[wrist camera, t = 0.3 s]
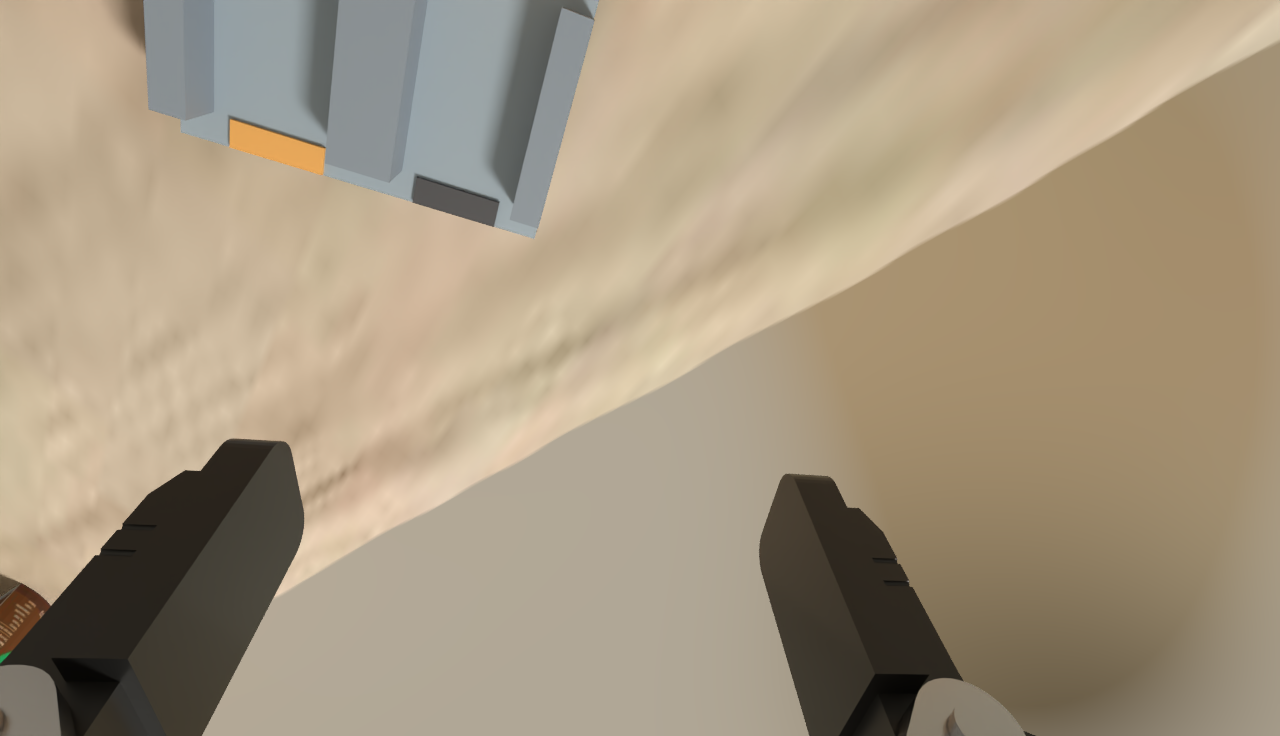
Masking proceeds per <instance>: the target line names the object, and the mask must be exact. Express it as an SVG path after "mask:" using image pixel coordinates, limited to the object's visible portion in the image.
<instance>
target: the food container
mask: <svg viewBox="0 0 1280 736" xmlns="http://www.w3.org/2000/svg"><path fill="white" fill-rule="evenodd" d="M50 607H51V606H50V605H49V603H48V602H47V601H46V600H45V599H44V598H43V597H41V596H40V595H39V594H38V593H36V592H35V591H33V590H32V589H30V588H29V587H27V586H25V585H23V584H22V583H20V584H19V585H17V586H16V587H14V588H13V589H12V590H10V591H9V592H7V593H6V594H4V595H3V596H1V597H0V663H1V662H2V661H3V660H4V659H5V658H6V657H7V656H8V655H9V654H10V653H11V652H12V650H13V649H14V648H15V647H16V646H17V645H18V644H19V642H20V641H21V640H22V639H23V638H24V637H25V635H26V634H27V633H28V632H29V631H30V630H31V629H32V627H33V626H34V625H35V624H36V623H37V622H38V621H39V619H40V618H41V617H42V616H43V615H44V614H45V612H46V611H47V610H48V609H49V608H50Z"/></svg>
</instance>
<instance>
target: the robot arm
mask: <svg viewBox="0 0 1280 736" xmlns="http://www.w3.org/2000/svg"><path fill="white" fill-rule="evenodd" d="M303 529H304V510H303V505H302V500H301V496H300V491H299V486H298V481H297V476H296V471H295V467H294V462H293V457H292V453H291V449H290V447H289V445H288V444H287V443H286V442H283V441H266V440H250V439H229V440H227V441H225V442H224V443H223V444H222V445H221V446H220V447H219V449H218V450H217V451H216V452H215V454H214V455H213V456H212V457H211V459H210V460H209V461H208V462H207V464H206V465H205V466H204V467H203V469H202V470H201V471H188V470H185V471H183V472H182V473H180V474H179V475H177V476H176V477H174V478H173V479H171V480H170V481H168V482H166V483H165V484H163V485H162V486H160V487H159V488H157V489H156V490H154V491H153V492H151V493H150V494H148V495H147V496H146V497H145V499H144V500H143V501H142V502H141V503H140V504H139V505H138V507H137V508H136V509H135V510H134V511H133V512H132V514H131V515H130V516H129V517H128V518H127V519H126V520H125V522H124V523H123V527H122V529H121V530H117V531H116V532H115V533H114V534H113V535H112V537H111V538H110V539H109V540H108V541H107V542H106V543H105V545H104V546H103V547H102V548H101V553H100V555H95V556H94V557H93V558H92V560H91V561H90V562H89V563H88V564H87V565H86V566H85V568H84V569H83V570H82V571H81V572H80V573H79V575H78V576H77V577H76V578H75V579H74V580H73V581H72V583H71V584H70V585H69V586H68V587H67V588H66V589H65V591H64V592H63V593H62V594H61V595H60V596H59V598H58V599H57V600H56V601H55V602H54V603H53V604H52V606H51V607H50V608H49V609H48V610H47V611H46V612H45V614H44V615H43V616H42V617H41V618H40V619H39V621H38V622H37V623H36V624H35V625H34V626H33V627H32V629H31V630H30V631H29V632H28V633H27V634H26V635H25V637H24V638H23V639H22V640H21V641H20V642H19V644H18V645H17V646H16V647H15V648H14V649H13V650H12V652H11V653H10V654H9V655H8V656H7V657H6V658H5V659H4V660H3V661H2V662H1V663H0V736H202V734H203V732H204V730H205V728H206V726H207V725H208V723H209V721H210V719H211V717H212V715H213V713H214V711H215V709H216V707H217V705H218V703H219V701H220V700H221V698H222V696H223V694H224V692H225V690H226V688H227V686H228V684H229V682H230V680H231V678H232V676H233V674H234V673H235V670H236V669H237V667H238V665H239V663H240V661H241V659H242V657H243V655H244V653H245V651H246V649H247V647H248V646H249V644H250V642H251V640H252V638H253V636H254V634H255V632H256V630H257V628H258V626H259V624H260V622H261V620H262V619H263V616H264V615H265V612H266V611H267V609H268V607H269V605H270V603H271V601H272V599H273V597H274V595H275V593H276V591H277V590H278V588H279V586H280V584H281V582H282V580H283V578H284V576H285V574H286V572H287V570H288V568H289V566H290V564H291V563H292V561H293V559H294V557H295V555H296V553H297V551H298V548H299V545H300V542H301V539H302V534H303ZM759 557H760V567H761V572H762V575H763V579H764V582H765V586H766V589H767V592H768V596H769V599H770V603H771V606H772V610H773V613H774V616H775V620H776V623H777V627H778V630H779V633H780V637H781V640H782V644H783V647H784V651H785V654H786V657H787V661H788V664H789V668H790V671H791V674H792V678H793V681H794V685H795V688H796V691H797V695H798V698H799V701H800V705H801V709H802V712H803V715H804V719H805V722H806V726H807V729H808V732H809V736H1035V735H1032V734H1030V733H1027V732H1025V731H1023V730H1022V729H1021V727H1020V725H1019V724H1018V723H1017V721H1016V720H1015V719H1014V718H1013V716H1012V715H1011V714H1010V713H1009V712H1008V710H1006V709H1005V708H1004V707H1003V706H1002V705H1001V704H1000V703H999V702H998V701H997V700H995V699H994V698H993V697H992V696H990V695H989V694H987V693H986V692H984V691H983V690H981V689H979V688H977V687H975V686H973V685H971V684H969V683H966V682H964V681H963V679H962V678H961V676H960V674H959V673H958V671H957V669H956V667H955V666H954V664H953V662H952V660H951V658H950V656H949V654H948V652H947V650H946V649H945V647H944V645H943V643H942V641H941V639H940V638H939V636H938V634H937V632H936V630H935V628H934V626H933V624H932V623H931V621H930V619H929V617H928V615H927V613H926V611H925V609H924V608H923V606H922V604H921V602H920V600H919V598H918V597H917V595H916V593H915V591H914V589H913V588H912V587H910V586H909V580H908V578H907V576H906V574H905V572H904V570H903V569H902V567H901V565H900V564H897V558H896V556H895V554H894V552H893V550H892V548H891V546H890V545H889V542H888V541H887V539H886V537H885V535H884V533H883V532H882V531H881V530H880V529H879V528H878V527H877V526H876V525H875V524H874V523H873V522H872V521H871V520H870V519H869V518H868V517H867V516H866V515H865V514H864V513H863V512H862V511H861V510H860V509H859V508H847V506H846V504H845V502H844V500H843V498H842V496H841V494H840V492H839V490H838V488H837V486H836V484H835V482H834V481H833V480H832V479H831V478H830V477H828V476H815V475H799V474H785V475H784V476H783V477H782V479H781V480H780V483H779V486H778V489H777V492H776V494H775V497H774V500H773V503H772V506H771V509H770V512H769V514H768V518H767V520H766V523H765V526H764V529H763V532H762V535H761V539H760V549H759Z"/></svg>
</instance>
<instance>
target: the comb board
mask: <svg viewBox="0 0 1280 736" xmlns="http://www.w3.org/2000/svg"><path fill="white" fill-rule="evenodd" d="M598 2H599V0H143V4H144V24H145V44H146V65H147V85H148V106H149V110H152V111H155V112H159V113H162V114H165V115H168V116H172V117H175V118H178V119H181V132H182V133H185V134H189V135H192V136H195V137H199V138H202V139H205V140H208V141H212V142H215V143H218V144H222V145H225V146H228V147H230V148H234V149H237V150H240V151H243V152H247V153H250V154H253V155H257V156H260V157H263V158H267V159H270V160H273V161H277V162H280V163H283V164H287V165H290V166H293V167H297V168H300V169H303V170H307V171H310V172H313V173H316V174H320V175H325V176H328V177H331V178H334V179H338V180H341V181H344V182H348V183H351V184H354V185H358V186H361V187H364V188H368V189H371V190H374V191H378V192H381V193H384V194H388V195H391V196H394V197H397V198H401V199H404V200H407V201H411V202H413V203H416V204H419V205H423V206H426V207H429V208H433V209H436V210H439V211H443V212H446V213H449V214H452V215H456V216H459V217H462V218H466V219H469V220H472V221H476V222H479V223H482V224H486V225H489V226H492V227H497V228H500V229H504V230H507V231H510V232H514V233H517V234H520V235H523V236H527V237H530V238H533V239H534V238H535V234H536V230H537V228H538V226H539V223H540V219H541V215H542V212H543V208H544V204H545V201H546V197H547V193H548V190H549V186H550V182H551V179H552V175H553V171H554V168H555V164H556V160H557V156H558V153H559V149H560V145H561V142H562V138H563V134H564V131H565V127H566V123H567V120H568V116H569V112H570V109H571V105H572V101H573V98H574V94H575V90H576V87H577V83H578V79H579V76H580V72H581V68H582V65H583V61H584V57H585V54H586V50H587V46H588V42H589V39H590V35H591V31H592V28H593V24H594V16H595V13H596V9H597V5H598Z"/></svg>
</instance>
